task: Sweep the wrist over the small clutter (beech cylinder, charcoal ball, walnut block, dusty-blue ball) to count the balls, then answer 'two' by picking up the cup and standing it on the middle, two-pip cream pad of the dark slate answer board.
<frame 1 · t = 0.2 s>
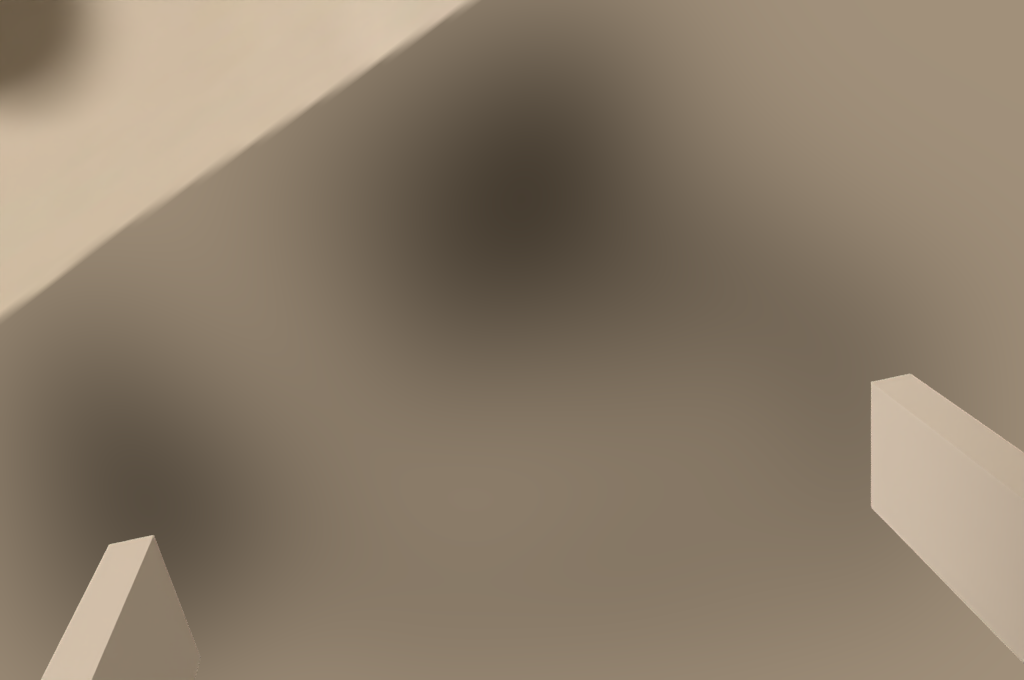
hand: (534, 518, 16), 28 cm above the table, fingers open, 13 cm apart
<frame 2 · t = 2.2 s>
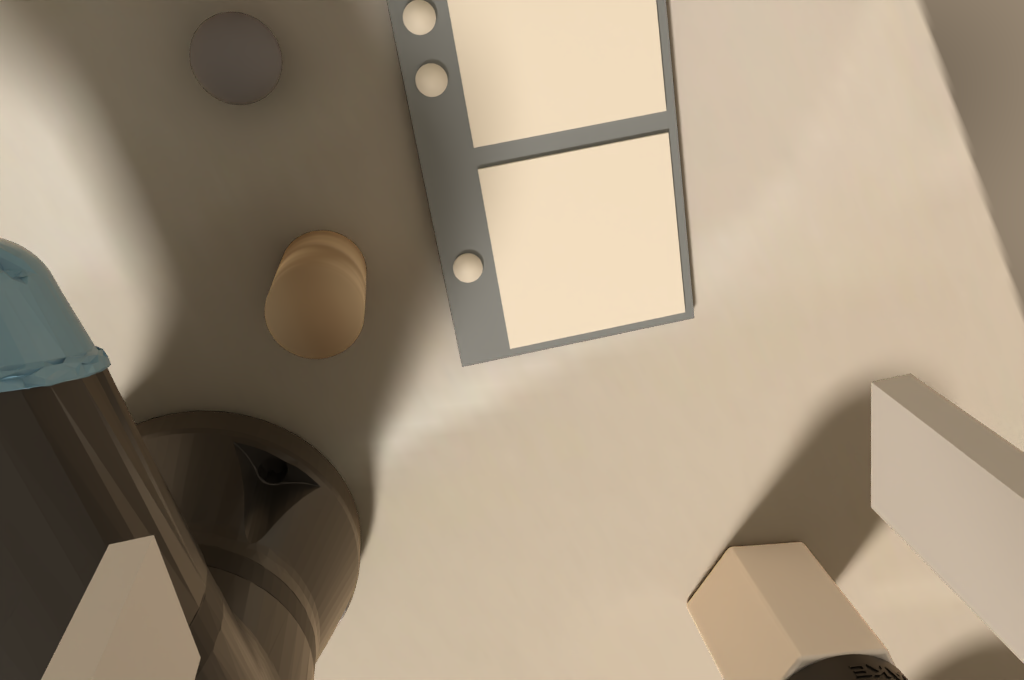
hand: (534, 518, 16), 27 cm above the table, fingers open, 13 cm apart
jar: (755, 595, 52), on the table
answer board: (531, 28, 38), on the table
beech cylinder: (323, 271, 41), on the table
charcoal ball: (243, 56, 37), on the table
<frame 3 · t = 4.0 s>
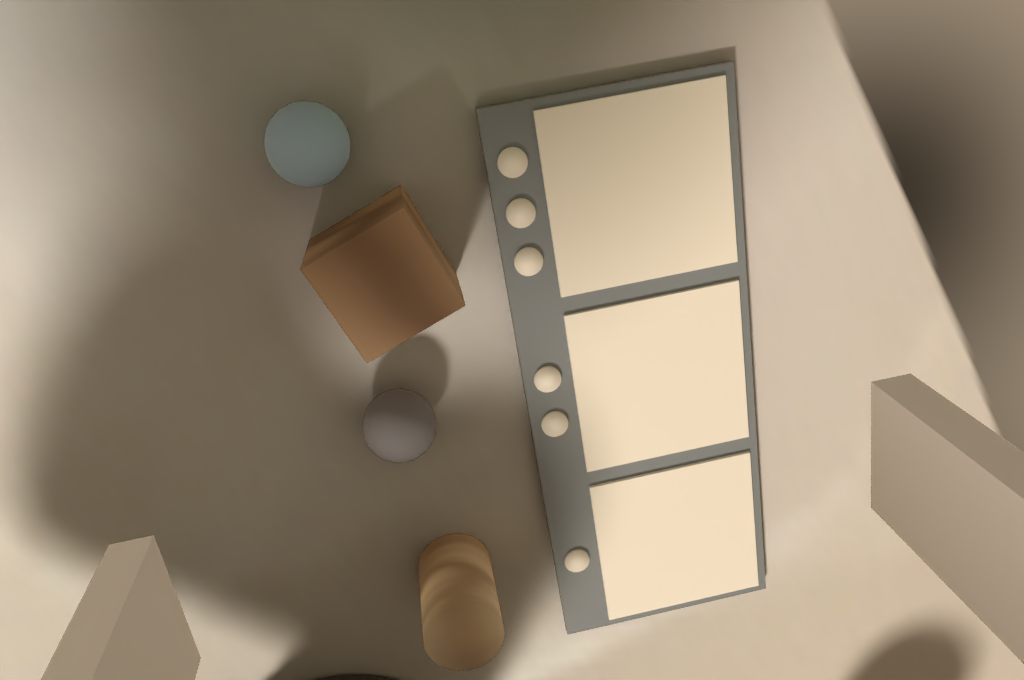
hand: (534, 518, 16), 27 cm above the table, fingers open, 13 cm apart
answer board: (637, 377, 45), on the table
walnut block: (384, 256, 41), on the table
dusty blue ball: (310, 138, 38), on the table
beech cylinder: (454, 564, 48), on the table
charcoal ball: (398, 409, 44), on the table
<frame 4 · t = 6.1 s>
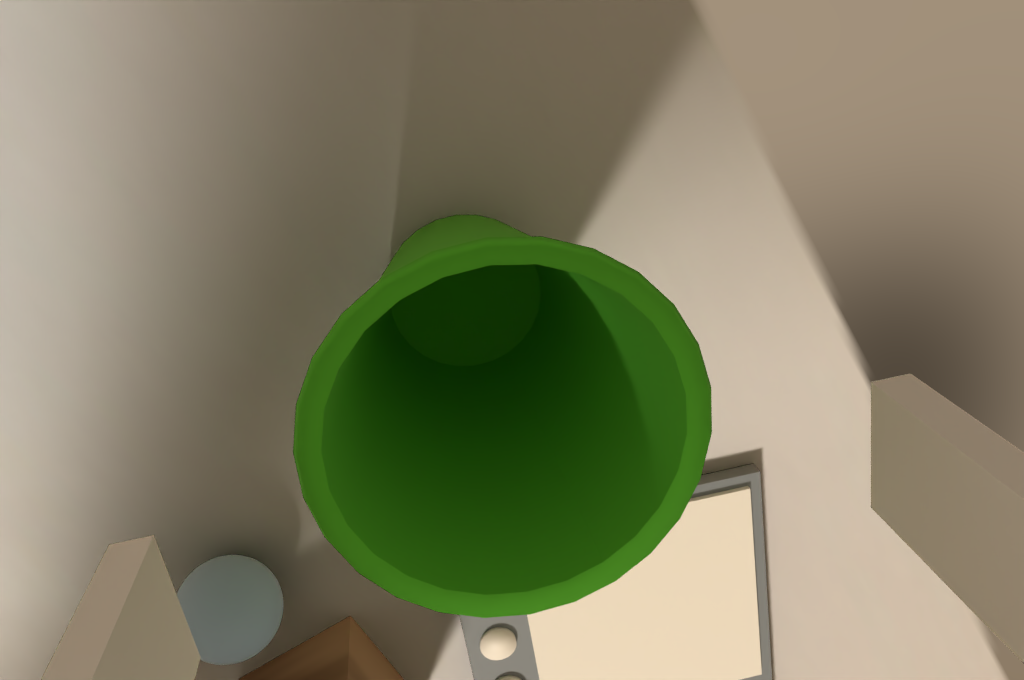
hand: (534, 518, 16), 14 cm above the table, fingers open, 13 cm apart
cup: (463, 288, 29), on the table
dusty blue ball: (237, 576, 31), on the table
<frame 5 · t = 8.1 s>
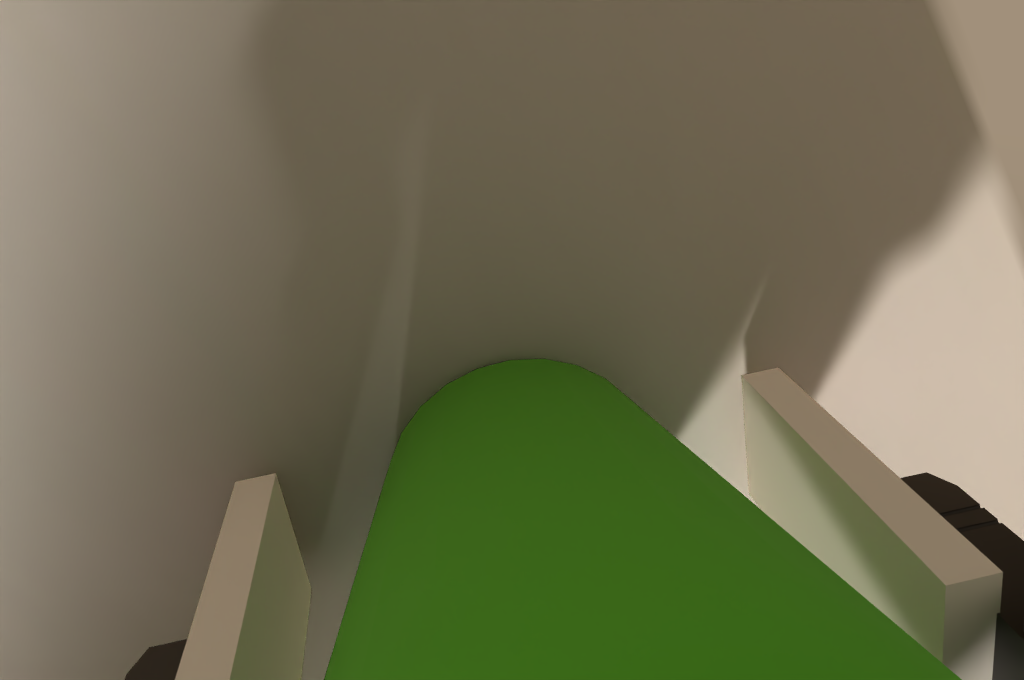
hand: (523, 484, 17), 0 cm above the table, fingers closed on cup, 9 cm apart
cup: (518, 466, 17), on the table, touching gripper
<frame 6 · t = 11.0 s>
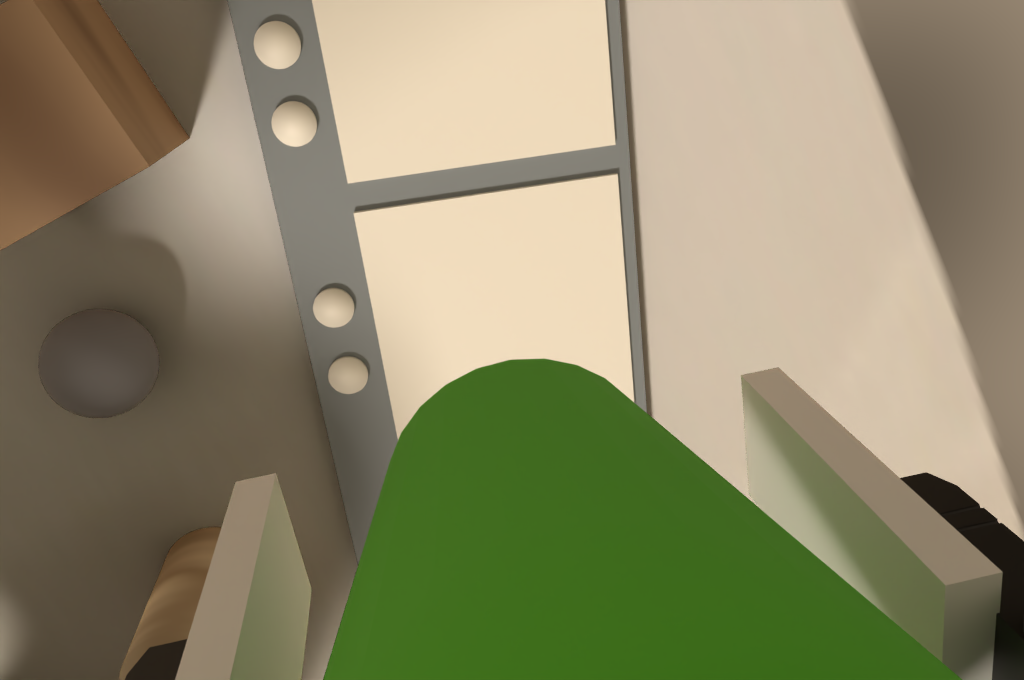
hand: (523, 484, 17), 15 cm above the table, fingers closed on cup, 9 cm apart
answer board: (473, 314, 31), on the table
walnut block: (75, 105, 27), on the table
cup: (518, 466, 17), point 14 cm above the table, touching gripper
beech cylinder: (217, 569, 34), on the table
charcoal ball: (116, 343, 30), on the table
when the fingers open (2 cm above the table, at t = 14.2 s): cup drops 1 cm, resting on answer board.
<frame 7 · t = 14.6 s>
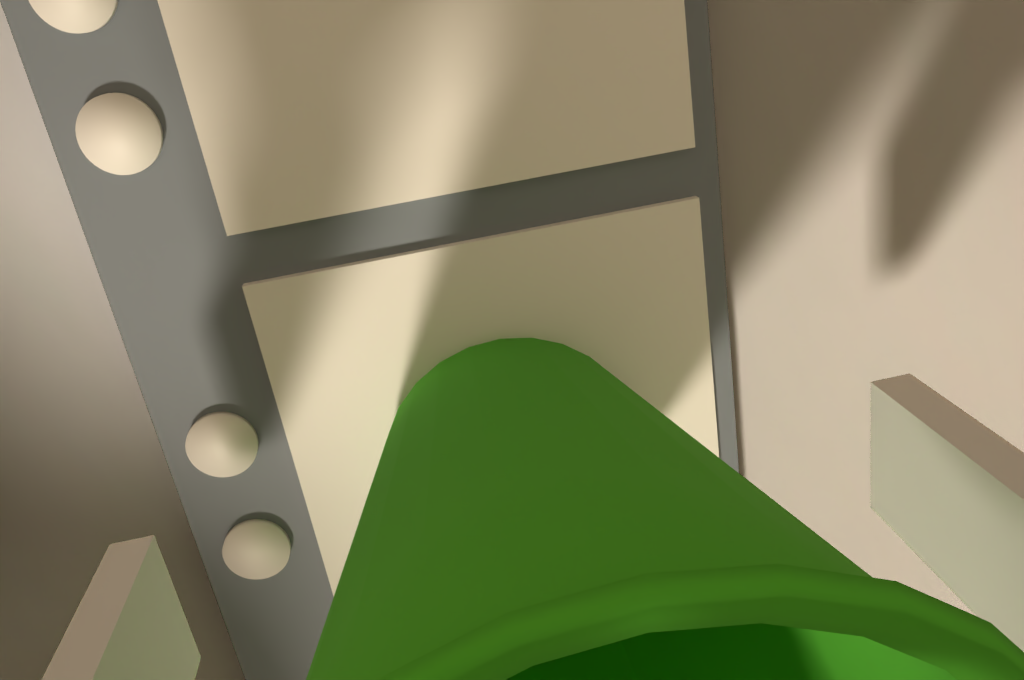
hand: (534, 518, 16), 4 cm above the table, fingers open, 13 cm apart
answer board: (462, 435, 19), on the table
cup: (509, 441, 18), point 1 cm above the table, touching answer board
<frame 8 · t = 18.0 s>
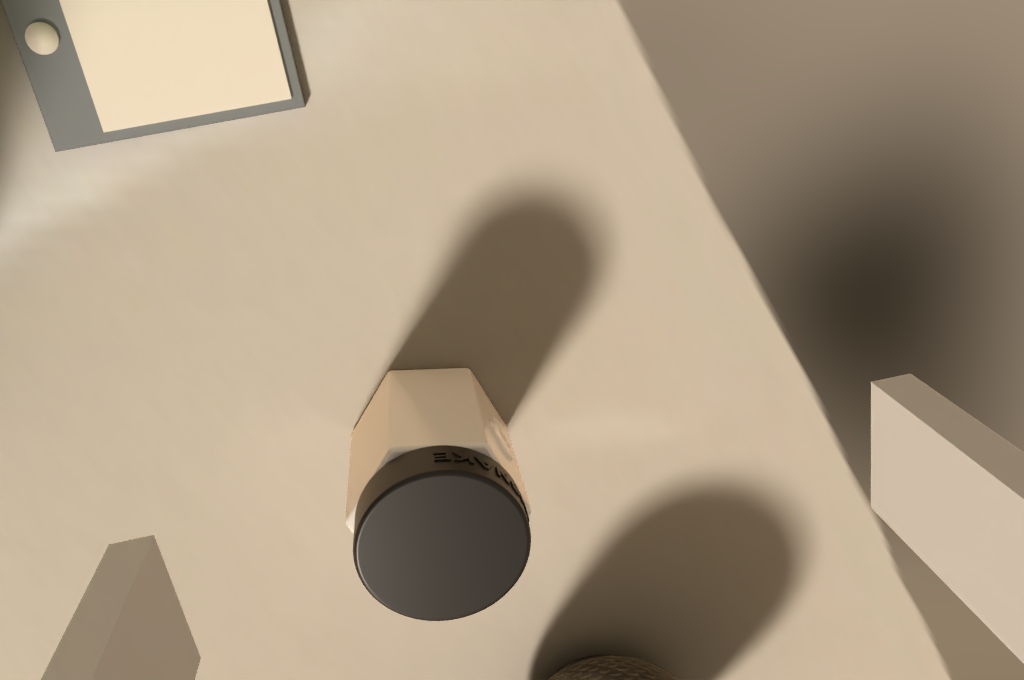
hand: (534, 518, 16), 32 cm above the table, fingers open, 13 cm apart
jar: (429, 427, 50), on the table
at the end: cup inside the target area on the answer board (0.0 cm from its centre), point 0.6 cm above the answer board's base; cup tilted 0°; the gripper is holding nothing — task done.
